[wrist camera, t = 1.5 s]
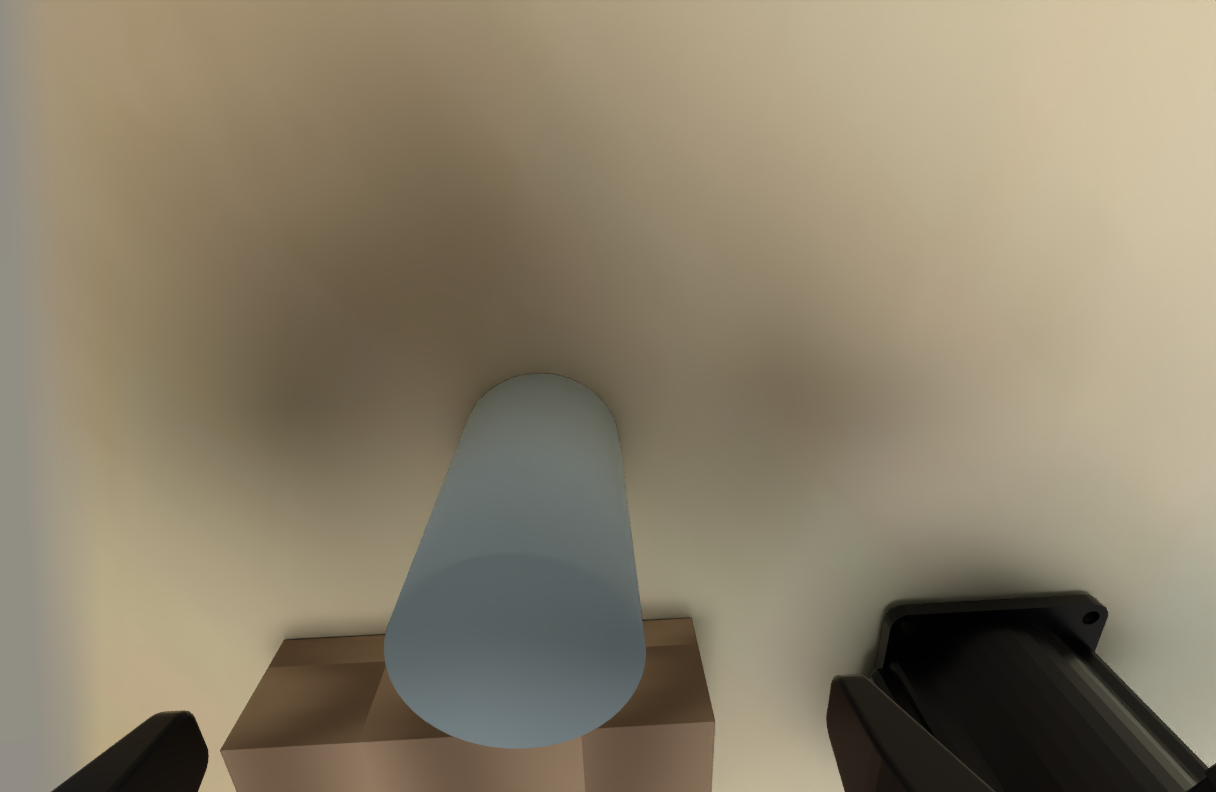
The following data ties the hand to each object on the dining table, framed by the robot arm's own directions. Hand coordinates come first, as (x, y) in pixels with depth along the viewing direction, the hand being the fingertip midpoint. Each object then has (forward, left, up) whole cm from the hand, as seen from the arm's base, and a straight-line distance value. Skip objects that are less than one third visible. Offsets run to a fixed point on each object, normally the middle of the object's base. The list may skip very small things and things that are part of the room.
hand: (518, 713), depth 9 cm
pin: (0, 0, -8) cm, 8 cm away
